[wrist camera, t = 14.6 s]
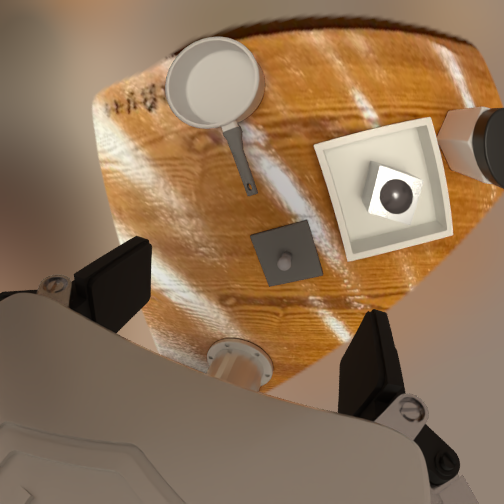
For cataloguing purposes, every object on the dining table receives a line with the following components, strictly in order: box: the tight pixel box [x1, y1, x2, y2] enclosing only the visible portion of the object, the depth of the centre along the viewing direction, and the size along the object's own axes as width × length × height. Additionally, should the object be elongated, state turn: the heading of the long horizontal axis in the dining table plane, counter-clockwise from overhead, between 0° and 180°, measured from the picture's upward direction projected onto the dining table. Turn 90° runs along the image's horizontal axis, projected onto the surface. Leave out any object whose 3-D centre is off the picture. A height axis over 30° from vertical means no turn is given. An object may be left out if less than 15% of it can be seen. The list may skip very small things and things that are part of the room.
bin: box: [314, 117, 453, 262], centre depth 29 cm, size 14×14×4 cm
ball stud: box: [250, 220, 323, 287], centre depth 37 cm, size 8×8×4 cm
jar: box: [437, 107, 504, 189], centre depth 20 cm, size 9×8×12 cm
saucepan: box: [165, 37, 265, 196], centre depth 30 cm, size 12×20×6 cm, turn 21°
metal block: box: [361, 160, 423, 225], centre depth 28 cm, size 5×5×7 cm
